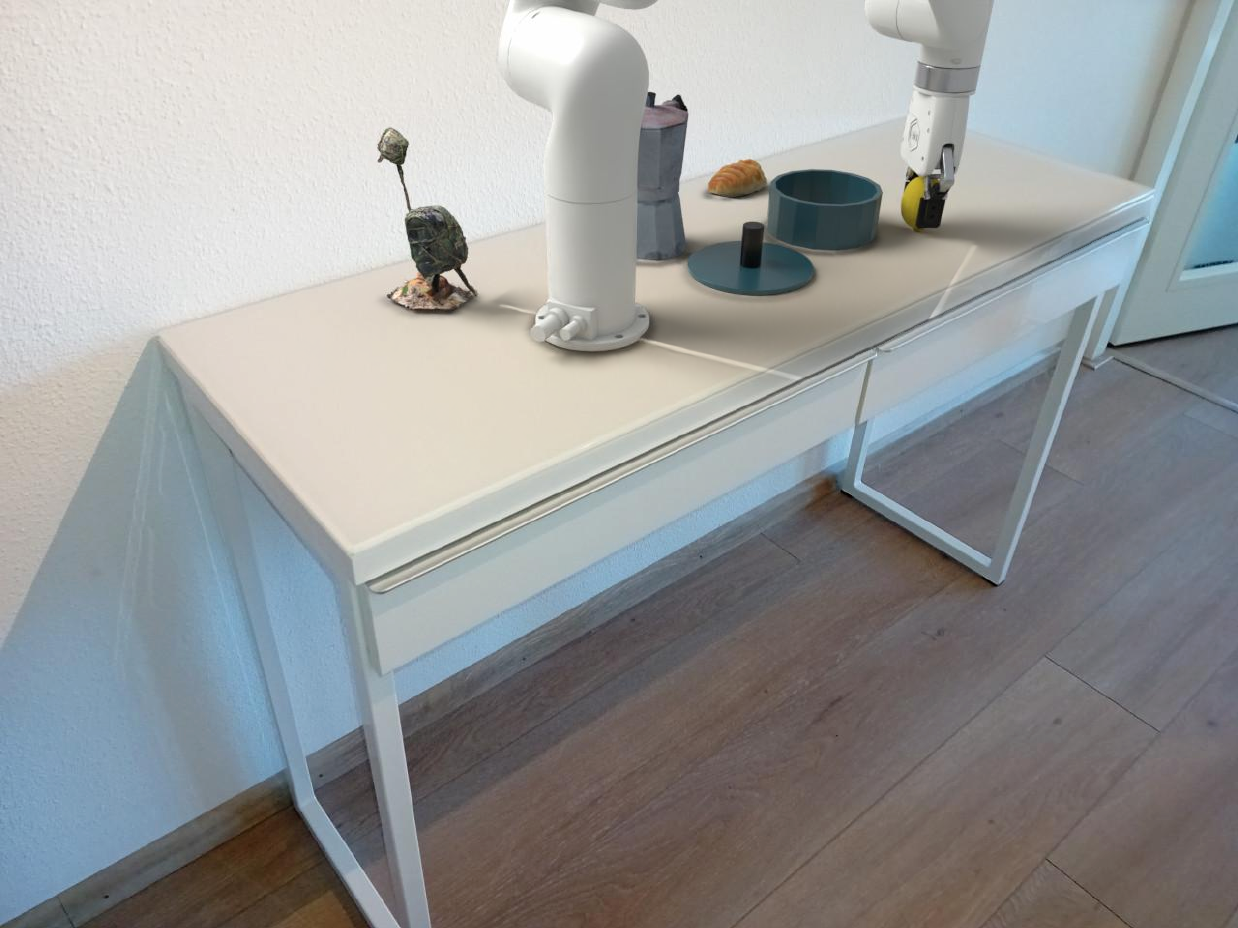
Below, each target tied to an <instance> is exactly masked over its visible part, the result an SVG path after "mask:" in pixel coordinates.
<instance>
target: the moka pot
mask: <svg viewBox="0 0 1238 928" xmlns="http://www.w3.org/2000/svg"><path fill="white" fill-rule="evenodd" d="M656 97H657V93H656V92H654V91H648V94H647V100H646V105H645V109H644V114H643V119H642V124H641V130H640V138H639V149H638V171H637V247H636V260H644V261H657V262H659V261H663V260H670V259H675V258H678V257H679V256H680V255H683V253H684V252H685V251H686V250H687V242H686V235H685V228H684V221H683V220H684V219H683V214H682V205H681V199H680V198H681V197H680V194H679V192H680V179H681V176H682V171H683V163H684V153H685V146H686V137H687V128H688V121H689V111H688V108H687V106H686V104H685V102H684V101H683V97H682V95H681V94H676V95H675V96H674V97H672V99H667V100H665V101H663V102H662V103H661V104H655V103H656Z"/></svg>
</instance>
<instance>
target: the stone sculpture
mask: <svg viewBox="0 0 1238 928" xmlns="http://www.w3.org/2000/svg"><path fill="white" fill-rule="evenodd" d="M409 145H410V143H409V140H408V139H407V138H406V137H404V136H403V134H402V133H401V132H400V131H398V130H396V129H395V128H393V127H392V126H390V127H389V126H388V127H386V128H385V129H384V130H383V132H382V134H381V136H380V141H378V143H377V147H376V148H377V151H378V152H379V153H380V155H379V157H378V159H377V163H378V164H379V163H380V164H381V163H382V162H383V160H387V161H388V162H389V163H391V164H394V165H396V169H397V173H398V176H399V179H400V183H401V185H402V187H403V192H404V197H405V202H406V207H407V210H408V212H407V213H406V214H405V217H404V225H405V232H406V236H407V241H408V244H409V249H410V255H411V259H412V260H413V262H414V264H415V269H417V273H416V277H415V278H412V279H409V280H407V279H404V280H405V282H404V283H402V284H401V285H400V286H399V287H396V288H395V289H394V290H392V291H390V293H387V294H386V298H387V299H389V300H391V301H393V302H395V304H396V303H397V304H399V305H402V306H404V308H407V307H409V308H408V310H415V309H420V310H435V309H439V310H448V311H450V310H455V309H457V308H460V307H461V306H460V305H462V306H463V305H464V304H465V302H468V300H470V299H471V297H472V295H473V296H474V297H478V296H479V293H478V290H477V289H476V288H474V286H472V285H471V284H470V283H469V280H468V278H467V276H466V274H465V273H464V271H463V269H462V266H463V264H466V263H467V260H468V257H469V256H468V255H469V246H468V244H467V242H466V241H467V240H466V239H467V237H466V236H464V231H463V228H462V226H461V225H460V223H459V221H458V220H457V219H456V218H455V216H454V215H452V213H451V211H449V210H448V209H447V208H446V207H444V206H442V205H427V206H419V207H417V208H412V206H411V201H410V197H409V192H408V189H407V186H406V183H405V177H404V175H405V173H404V169H403V165H404V164H405V163H406V158H407V151H408V148H409ZM453 270H454V271H455V272H456V274H457V275H458V277H459V278H460V279H461V281H462V282H463V284H464V285H465V287H466V288H467V289H466V288H462V287H461V286H459V285H457V284H455V283H453V282H452V283H450V282H449V281H448V278H446V277H445V276H443V274H444V273H445V272H446V273H448V272H450V271H453ZM471 294H472V295H471Z"/></svg>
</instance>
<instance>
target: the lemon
mask: <svg viewBox="0 0 1238 928" xmlns="http://www.w3.org/2000/svg"><path fill="white" fill-rule="evenodd" d="M924 180H925V176H924V177H920V176H919V177H916V178H915V179H913V180H912V181H911V182H910V183H909V184H908V186H907V187H906V189H905V191H904V190H903V194H902V197H901V201H900V213H901V217H902V219H903V222H905V224H907V225H908V226H909V227H911V228H912V229H913V230H914V232H922V231H923V230H924V229H925V228H917V227H916V226H915V223H916V218H917V212H918V207H919V202H920V197H924ZM939 180H940V179H932V183H931V188H932V186H933V185H934V184H935V183H938V182H939Z"/></svg>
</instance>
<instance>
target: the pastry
mask: <svg viewBox="0 0 1238 928" xmlns="http://www.w3.org/2000/svg"><path fill="white" fill-rule="evenodd" d="M767 182H768V179H767V177H766V175H765V171H764V170H763V169H762V165H761V164H760V163H759V162H757V160H755V159H751V158H748V159H744V160H743V159H739V160H738V161H737V162H732V163H730V164H725V165H723V166H722V167H721V168H720V169H719V170H718V171H717V172H716V173H714V174H713V176H712V177H711V178H710V180H709V181H708V183H707V185H708V194H710V193H712V194H715V195H718V196H721V197H726V198H729V199H730V198H735V197H742V196H745V195H751V194H753V193H755V192H759V191H761V190H762V189H763V188H764V187H765V185H766V184H767Z"/></svg>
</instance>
